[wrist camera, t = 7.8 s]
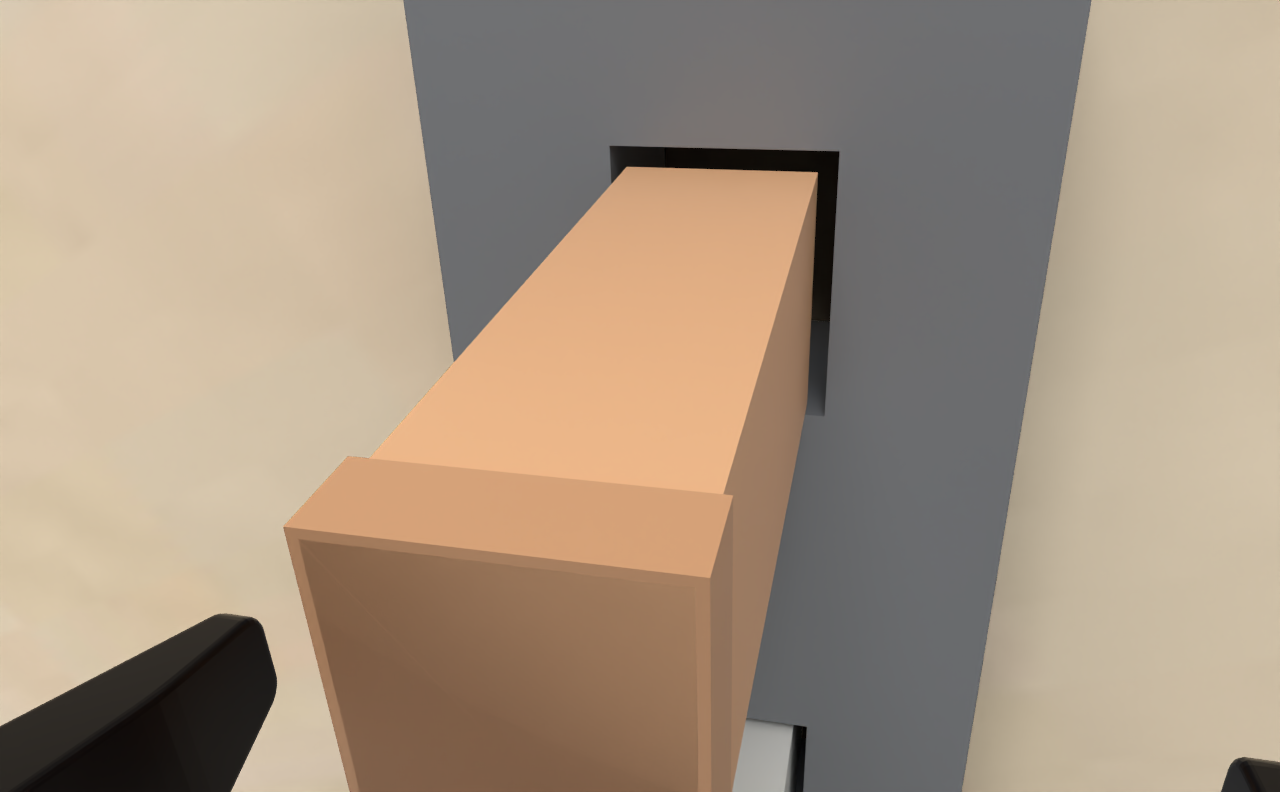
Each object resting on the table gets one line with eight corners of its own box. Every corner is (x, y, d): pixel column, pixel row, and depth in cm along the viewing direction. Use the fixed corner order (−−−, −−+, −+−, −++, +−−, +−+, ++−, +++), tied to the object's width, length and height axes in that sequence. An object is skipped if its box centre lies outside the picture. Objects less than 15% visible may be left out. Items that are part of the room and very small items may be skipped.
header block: (926, 854, 28) (927, 998, 24) (575, 794, 30) (531, 917, 26) (1071, -140, 16) (1113, -134, 13) (486, -118, 18) (388, -108, 15)
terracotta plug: (813, 408, 17) (712, 962, 9) (631, 393, 18) (375, 892, 9) (825, 166, 15) (710, 578, 7) (620, 159, 16) (283, 525, 7)
